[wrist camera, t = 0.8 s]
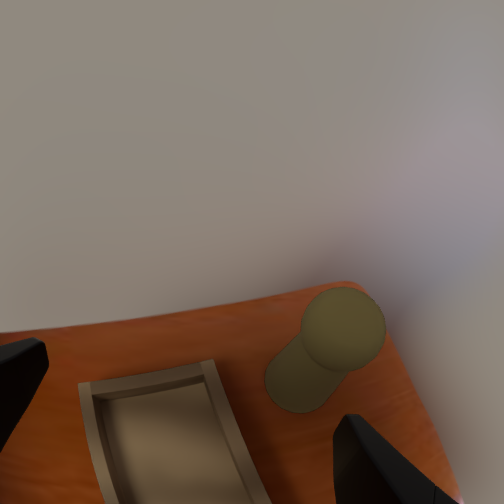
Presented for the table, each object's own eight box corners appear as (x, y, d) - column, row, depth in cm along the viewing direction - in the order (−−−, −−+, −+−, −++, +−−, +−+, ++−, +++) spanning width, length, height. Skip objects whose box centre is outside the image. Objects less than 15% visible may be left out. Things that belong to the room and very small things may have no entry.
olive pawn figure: (314, 341, 26) (366, 263, 18) (342, 397, 22) (418, 339, 14) (253, 360, 24) (285, 282, 16) (281, 423, 20) (337, 381, 12)
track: (302, 574, 10) (316, 584, 8) (170, 605, 6) (167, 619, 4) (211, 372, 22) (213, 358, 20) (90, 394, 19) (77, 383, 16)
